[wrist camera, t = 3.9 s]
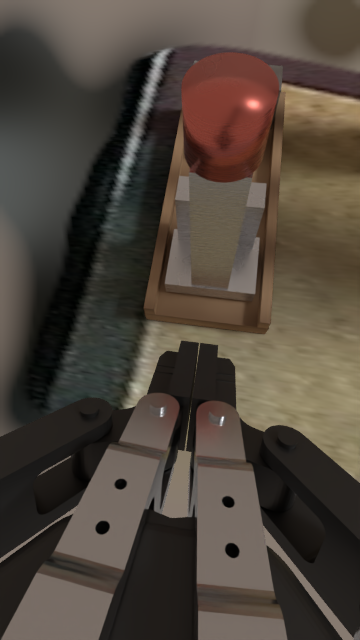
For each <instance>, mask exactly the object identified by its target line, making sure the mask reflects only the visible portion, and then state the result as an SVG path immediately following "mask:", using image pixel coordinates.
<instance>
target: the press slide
mask: <svg viewBox="0 0 360 640" xmlns="http://www.w3.org/2000/svg"><path fill="white" fill-rule="evenodd" d="M278 94H279V81H278V78H277V76H276V74H275V72H274V71H273V70H272V68H271V67H270V66H268V65H267V64H266V63H265V62H263V61H262V60H260V59H258V58H256V57H253V56H250V55H247V54H242V53H220V54H215V55H211V56H208V57H206V58H204V59H202V60H200V61H198V62H197V63H195V64H194V65H193V66H192V67H191V68H190V69H189V70H188V71H187V73H186V74H185V76H184V78H183V81H182V112H183V138H184V156H185V160H186V162H187V164H188V166H189V167H190V169H189V177H186V176H179V180H178V186H177V192H176V197H175V205H176V217H177V229H174V233H173V239H172V244H171V250H170V256H169V261H168V267H167V273H166V279H165V288H166V291H167V292H175V293H184V294H192V295H201V296H209V297H218V298H226V299H235V300H243V301H252V300H253V298H254V296H255V290H256V278H257V265H258V253H259V241H260V238H259V237H256V235H257V232H258V228H259V225H260V222H261V218H262V215H263V212H264V208H265V197H266V183H254V182H252V177H253V172H254V171H255V170H256V169H257V168H258V167H259V166H260V164H261V162H262V159H263V156H264V152H265V148H266V143H267V139H268V135H269V131H270V127H271V123H272V119H273V115H274V111H275V106H276V102H277V98H278Z"/></svg>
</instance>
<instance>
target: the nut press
mask: <svg viewBox="0 0 360 640" xmlns="http://www.w3.org/2000/svg"><path fill="white" fill-rule="evenodd" d="M197 62H198V61H194V64H195V63H197ZM268 66H270V67H271V68H272V70H273V71H274V72H275V74H276V76H277V78H278V81H279V94H278V98H277V102H276V106H275V111H274V115H273V119H272V123H271V127H270V131H269V135H268V139H267V143H266V148H265V152H264V156H263V159H262V162H261V164H260V166H259V167H258V168H257V169H256V170H255V171H254V172H253V177H252V182H254V183H266V197H265V208H264V212H263V215H262V218H261V222H260V225H259V228H258V232H257V235H256V237H259V238H260V241H259V253H258V265H257V278H256V290H255V296H254V298H253V300H252V301H243V300H235V299H226V298H218V297H209V296H201V295H192V294H184V293H175V292H167V291H166V288H165V279H166V273H167V267H168V261H169V256H170V250H171V244H172V239H173V233H174V229H177V217H176V205H175V197H176V192H177V186H178V180H179V176H186V177H189V169H190V167H189V166H188V164H187V162H186V160H185V156H184V138H183V112H182V110H181V115H180V120H179V126H178V131H177V136H176V141H175V146H174V152H173V157H172V162H171V167H170V172H169V178H168V183H167V188H166V193H165V199H164V204H163V209H162V214H161V219H160V225H159V230H158V235H157V240H156V246H155V251H154V256H153V261H152V266H151V272H150V277H149V282H148V287H147V293H146V298H145V303H144V311H145V316H146V318H147V319H149V320H157V321H165V322H173V323H181V324H189V325H197V326H205V327H213V328H221V329H229V330H237V331H245V332H253V333H261V334H265V333H266V332H267V330H268V329H269V325H270V324H271V308H272V293H273V277H274V262H275V246H276V231H277V216H278V200H279V185H280V169H281V154H282V138H283V123H284V107H285V92H281V85H282V70H283V66H274V65H268Z"/></svg>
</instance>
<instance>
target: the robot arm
mask: <svg viewBox="0 0 360 640" xmlns="http://www.w3.org/2000/svg"><path fill="white" fill-rule="evenodd" d="M198 346H199V343H196V342H188V341H181V344H180V348H179V352H172V351H166V352H165V353H164V354H163V355H161V356H160V357H159V360H158V363H157V366H156V369H155V373H154V375H153V378H152V381H151V384H150V387H149V390H148V393H147V395H145V396H143V397H142V398H141V399H140V400H139V401H138V403H137V405H136V406H135V407H132V408H129V409H122V410H112V407H111V405H110V404H109V403H108V402H107V401H105V400H103V399H100V398H85V399H81V400H79V401H77V402H74V403H72V404H70V405H68V406H66V407H64V408H62V409H59V410H57V411H55V412H53V413H51V414H49V415H46V416H44V417H42V418H40V419H38V420H36V421H34V422H32V423H29V424H27V425H25V426H23V427H21V428H18V429H16V430H14V431H12V432H10V433H8V434H6V435H4V436H1V437H0V558H1V557H3V556H4V555H5V554H7V553H8V552H10V551H11V550H13V549H14V548H16V547H17V546H18V545H20V544H21V543H23V542H25V541H26V540H28V539H29V538H30V537H32V536H33V535H35V534H36V533H38V532H39V531H41V530H42V529H44V528H45V527H47V526H48V525H49V524H51V523H52V522H54V521H55V520H57V519H58V518H60V517H61V516H63V515H64V514H66V513H67V512H68V511H70V510H71V509H73V508H74V507H76V506H77V505H78V506H77V508H76V510H75V512H74V514H72V515H70V516H67V517H65V518H63V519H61V520H60V521H58V522H56V523H55V524H53V525H52V526H50V527H49V528H48V529H46V530H45V531H43V532H42V533H41V534H39V535H38V536H36V537H35V538H34V539H32V540H31V541H30V542H28V543H27V544H26V545H24V546H23V547H22V548H20V549H19V550H17V551H16V552H15V553H13V554H12V555H10V556H9V557H8V558H6V559H5V560H4V561H2V562H1V563H0V640H342V638H341V637H340V636H339V634H338V633H337V631H336V630H335V629H334V627H333V626H332V625H331V623H330V622H329V621H328V619H327V618H326V617H325V615H324V614H323V612H322V611H321V610H320V609H319V607H318V606H317V604H316V603H315V602H314V600H313V599H312V598H311V596H310V595H309V594H308V592H307V591H306V590H305V588H304V587H303V585H302V584H301V583H300V581H299V580H298V579H297V577H296V576H295V575H294V573H293V572H292V571H291V570H290V568H289V567H288V566H287V564H286V563H285V562H284V561H283V560H282V559H281V558H280V557H279V555H277V554H276V553H275V552H274V551H273V550H272V549H271V548H269V547H268V546H267V545H266V542H265V535H264V530H263V525H264V526H265V528H266V529H267V530H268V532H269V533H270V534H271V535H272V537H273V538H274V539H275V540H276V542H277V543H278V544H279V545H280V546H281V548H282V549H283V550H284V552H285V553H286V554H287V555H288V557H289V558H290V559H291V560H292V562H293V563H294V564H295V565H296V567H297V568H298V569H299V570H300V572H301V573H302V574H303V575H304V577H305V578H306V579H307V580H308V582H309V583H310V584H311V585H312V587H313V588H314V589H315V590H316V592H317V593H318V594H319V595H320V597H321V598H322V599H323V600H324V602H325V603H326V604H327V605H328V607H329V608H330V609H331V610H332V611H333V613H334V614H335V615H336V616H337V618H338V619H339V620H340V622H341V623H342V624H343V625H344V627H345V628H346V629H347V630H348V632H349V633H350V634H351V635H352V637H353V638H354V640H360V483H359V482H358V481H357V480H355V479H354V478H353V477H352V476H351V475H350V474H348V473H347V472H346V471H345V470H344V469H342V468H341V467H340V466H339V465H338V464H337V463H335V462H334V461H333V460H332V459H331V458H330V457H328V456H327V455H326V454H325V453H324V452H323V451H321V450H320V449H319V448H318V447H317V446H316V445H314V444H313V443H312V442H311V441H310V440H309V439H307V438H306V437H305V436H304V435H303V434H301V433H300V432H299V431H297V430H295V429H293V428H291V427H287V426H282V425H276V426H272V427H269V428H268V429H266V430H265V432H263V431H260V430H258V429H255V428H253V427H251V426H249V425H247V424H246V423H245V422H243V421H242V420H241V418H240V417H239V414H238V412H237V411H236V385H235V366H234V365H233V363H232V362H231V360H230V359H226V358H218V357H217V353H218V345H212V344H204V343H200V349H199V355H198ZM197 355H198V362H197ZM196 364H197V369H196ZM195 373H196V375H195ZM194 381H195V382H194ZM191 402H192V404H191ZM190 409H191V412H190ZM189 415H190V421H189ZM188 422H189V430H188V439H187V448H186V451H189V452H191V461H190V469H189V488H188V517H185V518H169V517H167V516H164V515H162V511H163V507H164V503H165V500H166V496H167V492H168V489H169V485H170V481H171V478H172V474H173V470H174V464H175V462H176V459H177V453H178V450H182V451H184V449H185V442H186V435H187V429H188ZM70 455H71V458H69V459H67V460H65V461H64V462H62V463H60V464H58V465H57V466H55V467H53V468H52V469H50V470H48V471H46V472H45V473H43V474H41V475H39V474H40V473H41V472H42V471H44V470H46V469H48V468H49V467H51V466H53V465H55V464H56V463H58V462H60V461H62V460H63V459H65V458H67V457H69V456H70ZM38 475H39V476H38ZM37 476H38V477H37Z"/></svg>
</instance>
